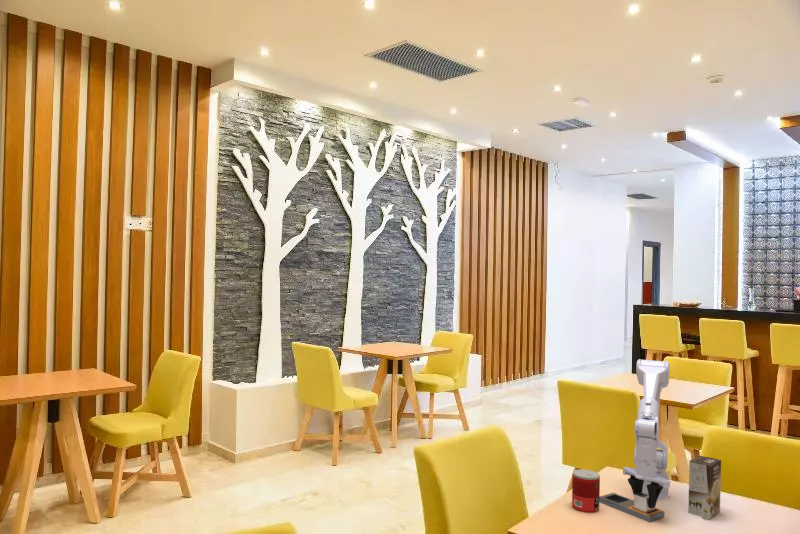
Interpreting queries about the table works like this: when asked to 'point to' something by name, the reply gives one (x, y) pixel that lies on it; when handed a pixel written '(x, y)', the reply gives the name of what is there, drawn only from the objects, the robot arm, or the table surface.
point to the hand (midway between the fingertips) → (645, 504)
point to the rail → (629, 507)
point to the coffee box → (704, 487)
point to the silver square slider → (642, 502)
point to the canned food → (585, 490)
